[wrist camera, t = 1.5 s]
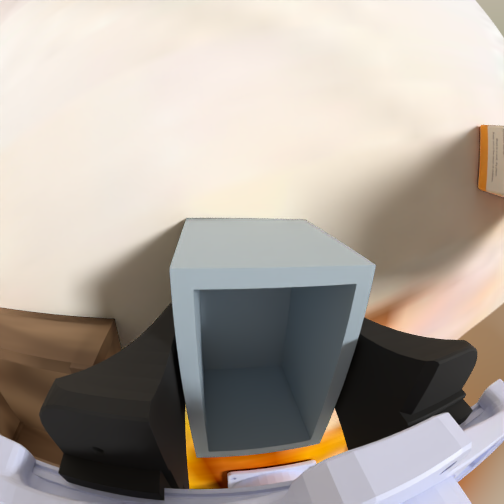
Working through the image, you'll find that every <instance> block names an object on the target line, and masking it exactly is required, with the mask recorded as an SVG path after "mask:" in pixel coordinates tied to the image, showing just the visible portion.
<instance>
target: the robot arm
mask: <svg viewBox="0 0 504 504" xmlns="http://www.w3.org/2000/svg"><path fill="white" fill-rule="evenodd" d="M476 360H477V350H476V348H474V347H473V346H472V345H471V344H470V343H468V342H467V341H465V340H444V339H435V338H427V337H422V336H417V335H413V334H408V333H404V332H401V331H397V330H394V329H391V328H388V327H386V326H383V325H380V324H378V323H375V322H373V321H371V320H368V319H366V318H364V319H363V323H362V327H361V330H360V334H359V337H358V341H357V344H356V348H355V351H354V354H353V357H352V360H351V363H350V366H349V370H348V372H347V375H346V378H345V381H344V384H343V387H342V390H341V392H340V395H339V398H338V400H337V403H336V405H335V410H336V412H337V415H338V418H339V421H340V424H341V427H342V430H343V433H344V437H345V440H346V444H347V447H348V451H346V452H344V453H341V454H338V455H336V456H333V457H330V458H328V459H325V460H323V461H322V462H320V463H318V464H316V461H315V460H309V461H305V462H300V463H295V464H289V465H284V466H278V467H271V468H264V469H255V470H246V471H233V472H229V473H228V474H227V478H228V488H226V489H189V480H188V469H187V456H186V436H185V397H184V392H183V385H182V379H181V373H180V366H179V359H178V351H177V344H176V335H175V327H174V317H173V307H172V302H171V303H170V305H169V306H168V307H167V308H166V309H165V311H164V312H163V313H162V314H161V315H160V316H159V318H158V319H157V320H156V321H155V322H154V323H153V324H152V325H151V326H150V327H149V328H148V329H147V330H146V331H145V332H144V333H143V334H142V335H141V336H140V337H139V338H137V339H136V340H135V341H134V342H132V343H131V344H130V345H128V346H127V347H126V348H124V349H123V350H121V351H119V352H118V353H116V354H114V355H113V356H111V357H109V358H108V359H106V360H104V361H102V362H100V363H98V364H96V365H94V366H91V367H89V368H87V369H84V370H82V371H79V372H76V373H73V374H70V375H67V376H63V377H60V378H56V379H55V381H54V382H53V384H52V386H51V388H50V390H49V392H48V394H47V396H46V398H45V400H44V402H43V405H42V407H41V409H40V412H39V417H40V421H41V423H42V425H43V427H44V428H45V430H46V431H47V433H48V434H49V435H50V437H51V438H52V439H53V441H54V442H55V443H56V444H57V446H58V447H59V448H60V449H61V451H62V452H63V457H62V460H61V464H60V468H59V467H56V466H53V465H50V464H47V463H44V462H41V461H39V460H36V459H35V458H34V456H33V455H32V454H31V453H30V452H29V451H28V450H27V449H26V448H25V447H24V446H22V445H21V444H19V443H17V442H15V441H13V440H11V439H8V438H6V437H4V436H2V435H0V504H471V502H470V500H469V499H468V497H467V496H466V494H465V493H464V491H463V490H462V488H461V487H460V486H459V484H458V483H457V482H458V481H459V480H461V479H462V478H463V477H464V476H466V475H467V474H468V473H470V472H471V471H472V470H473V469H474V468H475V467H477V466H478V465H479V464H480V463H481V462H482V461H483V460H485V458H487V457H488V456H489V455H490V454H491V453H492V452H493V451H494V450H495V449H496V448H497V447H498V446H499V445H500V444H501V443H502V442H503V441H504V382H503V381H502V380H501V379H498V380H497V381H496V382H494V383H493V384H492V385H490V386H489V387H488V388H487V389H486V390H485V391H484V393H483V394H482V395H481V397H480V398H479V400H478V402H477V403H476V404H475V405H473V406H472V407H470V406H469V405H468V404H467V403H466V402H465V401H464V400H463V398H465V396H466V394H465V392H464V391H463V390H462V388H463V385H464V384H465V383H466V381H467V379H468V377H469V376H470V374H471V372H472V370H473V368H474V366H475V364H476Z"/></svg>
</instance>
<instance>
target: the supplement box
mask: <svg viewBox="0 0 504 504" xmlns="http://www.w3.org/2000/svg"><path fill="white" fill-rule="evenodd" d="M478 188H479V189H480V190H482V191H485V192H488V193H491V194H495V195H497V196H500V197H503V198H504V126H496V125H481V126H480V165H479V179H478Z"/></svg>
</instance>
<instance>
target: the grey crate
mask: <svg viewBox="0 0 504 504" xmlns="http://www.w3.org/2000/svg"><path fill="white" fill-rule="evenodd" d="M375 268H376V264H374V263H373V262H371V261H370V260H368V259H367V258H365V257H364V256H362V255H361V254H359V253H357V252H356V251H354V250H353V249H351V248H350V247H348V246H347V245H345V244H344V243H342V242H340V241H339V240H337V239H336V238H334V237H333V236H331V235H329V234H328V233H326V232H325V231H323V230H321V229H320V228H318V227H316V226H315V225H313V224H312V223H310V222H308V221H307V220H298V219H257V218H187V219H186V221H185V224H184V227H183V230H182V233H181V236H180V238H179V241H178V244H177V247H176V250H175V253H174V256H173V259H172V262H171V265H170V283H171V296H172V307H173V317H174V327H175V335H176V344H177V351H178V359H179V366H180V373H181V379H182V385H183V392H184V397H185V403H186V408H187V414H188V419H189V424H190V429H191V434H192V438H193V443H194V447H195V452H196V456H197V457H227V456H241V455H252V454H261V453H269V452H276V451H283V450H289V449H294V448H300V447H305V446H310V445H314V444H319V443H320V441H321V439H322V437H323V434H324V432H325V430H326V427H327V425H328V423H329V420H330V418H331V415H332V413H333V410H334V408H335V405H336V403H337V400H338V398H339V395H340V392H341V390H342V387H343V384H344V381H345V378H346V375H347V372H348V370H349V366H350V363H351V360H352V357H353V354H354V351H355V348H356V344H357V341H358V337H359V334H360V330H361V327H362V323H363V319H364V316H365V312H366V308H367V304H368V300H369V295H370V291H371V287H372V282H373V277H374V273H375Z"/></svg>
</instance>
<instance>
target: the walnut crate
mask: <svg viewBox="0 0 504 504" xmlns="http://www.w3.org/2000/svg"><path fill="white" fill-rule="evenodd" d="M121 350H122V349H121V345H120V341H119V337H118V333H117V329H116V324H115V320H114V319H106V318H90V317H76V316H65V315H54V314H45V313H36V312H28V311H20V310H13V309H6V308H0V435H2V436H4V437H6V438H8V439H11V440H13V441H15V442H17V443H19V444H21V445H22V446H24V447H25V448H26V449H27V450H28V451H29V452H30V453H31V454H32V455H33V456H34V458H35V459H36V460H39V461H41V462H44V463H47V464H50V465H53V466H56V467H59V468H60V464H61V460H62V457H63V452H62V451H61V449H60V448H59V447H58V446H57V444H56V443H55V442H54V441H53V439H52V438H51V437H50V435H49V434H48V433H47V431H46V430H45V428H44V427H43V425H42V423H41V421H40V417H39V412H40V409H41V407H42V405H43V402H44V400H45V398H46V396H47V394H48V392H49V390H50V388H51V386H52V384H53V382H54V381H55V379H56V378H60V377H63V376H67V375H70V374H73V373H76V372H79V371H82V370H84V369H87V368H89V367H91V366H94V365H96V364H98V363H100V362H102V361H104V360H106V359H108V358H109V357H111V356H113V355H114V354H116V353H118V352H119V351H121Z"/></svg>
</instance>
